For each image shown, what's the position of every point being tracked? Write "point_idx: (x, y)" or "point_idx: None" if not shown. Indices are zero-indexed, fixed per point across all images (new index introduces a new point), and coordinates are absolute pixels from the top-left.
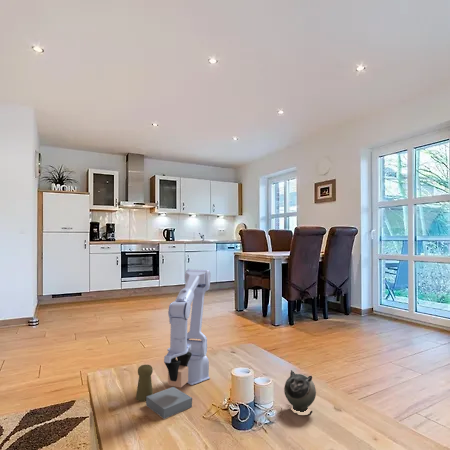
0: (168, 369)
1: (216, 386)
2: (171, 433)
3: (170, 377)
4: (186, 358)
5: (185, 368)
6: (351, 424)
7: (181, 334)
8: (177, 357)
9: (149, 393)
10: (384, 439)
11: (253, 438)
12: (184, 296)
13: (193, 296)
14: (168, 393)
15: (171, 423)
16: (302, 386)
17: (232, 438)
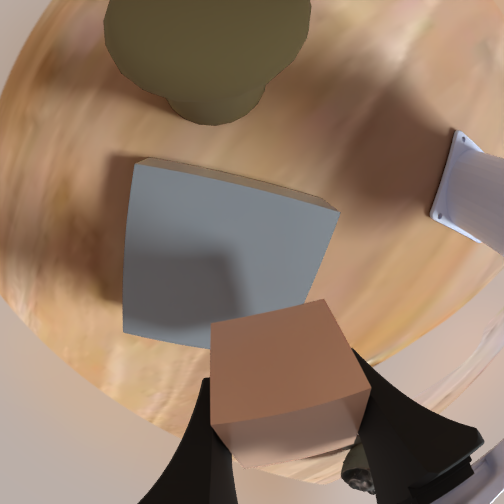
0: (177, 457)
1: (438, 293)
2: (109, 362)
3: (200, 399)
4: (378, 483)
5: (315, 454)
6: (339, 466)
7: None
8: (405, 451)
9: (206, 118)
10: (318, 479)
11: None
12: None
13: None
14: (251, 247)
15: (137, 339)
16: (354, 488)
17: None
